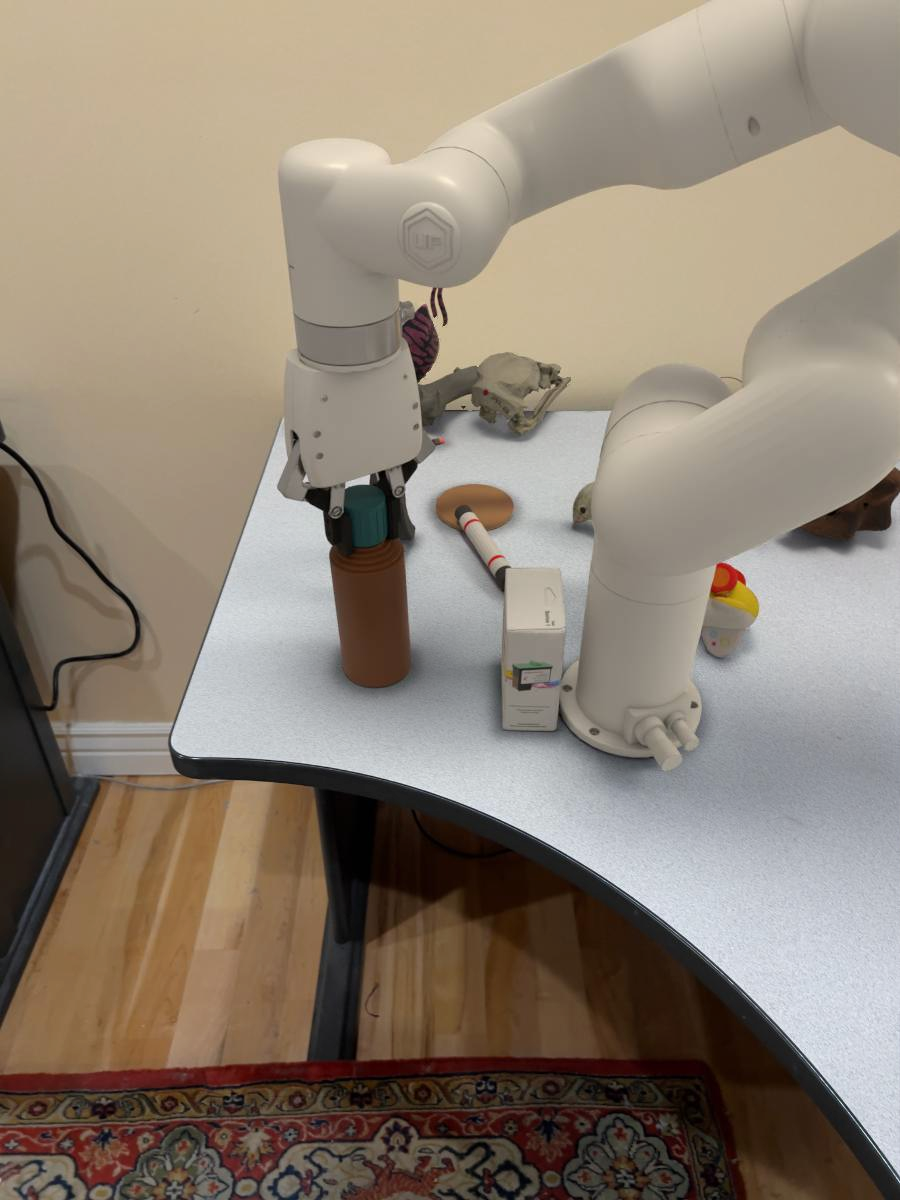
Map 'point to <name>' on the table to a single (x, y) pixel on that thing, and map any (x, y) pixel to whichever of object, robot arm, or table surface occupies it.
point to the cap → (366, 514)
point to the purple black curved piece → (424, 334)
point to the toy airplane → (728, 611)
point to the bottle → (372, 612)
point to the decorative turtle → (860, 512)
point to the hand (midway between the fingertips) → (364, 537)
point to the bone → (445, 392)
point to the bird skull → (515, 389)
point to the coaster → (476, 505)
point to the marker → (483, 543)
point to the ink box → (532, 648)
